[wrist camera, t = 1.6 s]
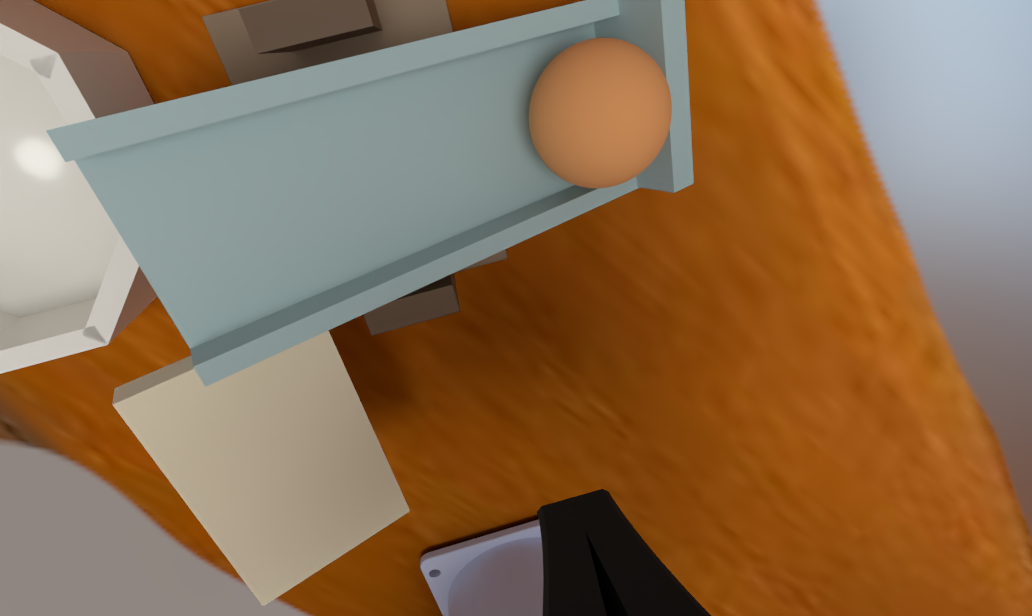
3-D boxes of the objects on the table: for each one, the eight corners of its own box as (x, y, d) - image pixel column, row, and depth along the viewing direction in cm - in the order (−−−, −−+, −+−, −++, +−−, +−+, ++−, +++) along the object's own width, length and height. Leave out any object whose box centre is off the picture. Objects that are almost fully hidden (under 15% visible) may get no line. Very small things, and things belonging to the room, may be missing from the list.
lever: (636, 346, 21) (703, 379, 18) (258, 585, 15) (280, 683, 12) (593, -2, 15) (683, -24, 12) (-55, 155, 9) (-136, 173, 6)
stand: (504, 252, 18) (528, 306, 14) (332, 298, 17) (310, 366, 14) (435, -36, 14) (442, -65, 10) (210, 17, 14) (133, 7, 10)
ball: (631, 156, 16) (705, 177, 13) (524, 190, 15) (576, 220, 12) (617, 27, 14) (699, 16, 11) (496, 58, 13) (549, 55, 10)
